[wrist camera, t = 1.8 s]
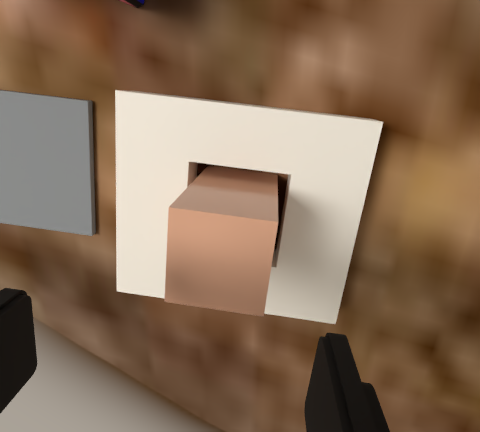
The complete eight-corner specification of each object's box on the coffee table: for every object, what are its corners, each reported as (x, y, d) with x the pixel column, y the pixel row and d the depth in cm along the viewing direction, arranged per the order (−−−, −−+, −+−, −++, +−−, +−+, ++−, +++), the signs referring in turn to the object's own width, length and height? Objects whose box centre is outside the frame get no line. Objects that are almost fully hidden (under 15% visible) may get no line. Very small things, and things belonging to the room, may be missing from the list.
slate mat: (92, 100, 25) (87, 101, 24) (95, 232, 28) (92, 235, 28) (-44, 84, 25) (-51, 84, 25) (-25, 216, 29) (-31, 218, 28)
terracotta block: (277, 174, 25) (278, 222, 16) (267, 238, 27) (263, 316, 18) (208, 165, 26) (168, 206, 16) (203, 229, 27) (164, 301, 18)
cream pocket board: (370, 118, 23) (383, 121, 21) (329, 301, 28) (335, 324, 25) (134, 90, 24) (115, 90, 22) (132, 272, 29) (116, 291, 26)
